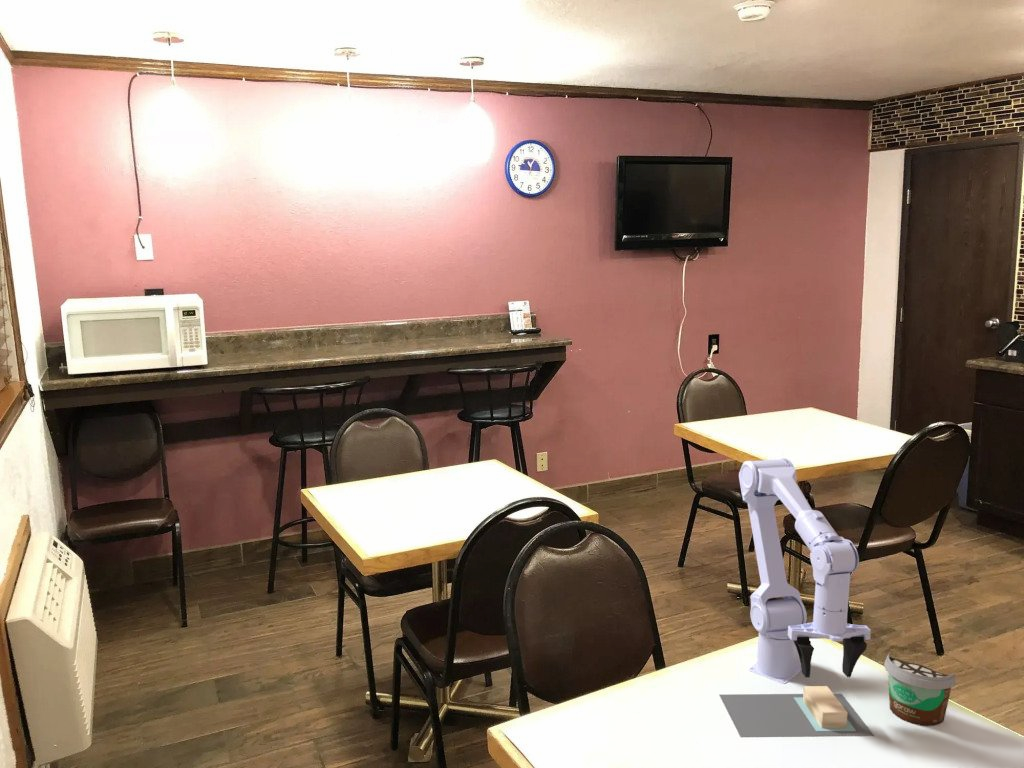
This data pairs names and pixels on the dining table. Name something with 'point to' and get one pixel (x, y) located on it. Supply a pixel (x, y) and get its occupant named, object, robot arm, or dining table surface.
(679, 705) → the dining table surface
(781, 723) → the mat
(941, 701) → the food container
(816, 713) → the tan wooden block
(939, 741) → the dining table surface
